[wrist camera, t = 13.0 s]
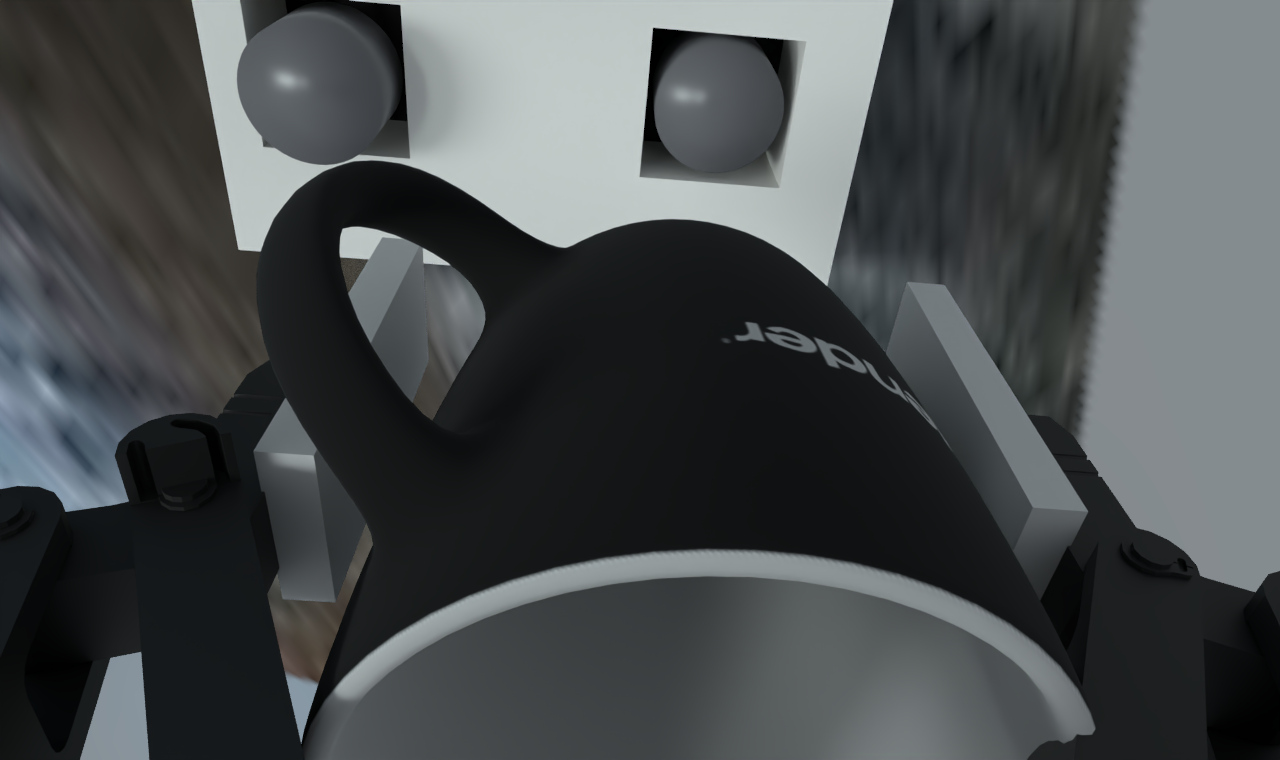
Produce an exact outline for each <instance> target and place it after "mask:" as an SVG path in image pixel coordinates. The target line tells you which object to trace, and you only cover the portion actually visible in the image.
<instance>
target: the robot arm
mask: <svg viewBox="0 0 1280 760" xmlns="http://www.w3.org/2000/svg"><path fill="white" fill-rule="evenodd" d="M348 294H349V297H350V299H351V302H352V305H353V307H354V310H355V312H356V315H357V318H358V320H359V322H360V324H361V326H362V328H363V330H364V332H365V334H366V335H367V337H368V339H369V341H370V343H371V345H372V347H373V348H374V350H375V352H376V353H377V355H378V356H379V358H380V360H381V361H382V363H383V364H384V366H385V368H386V369H387V371H388V372H389V373H390V375H391V376H392V378H393V379H394V380H395V382H396V383H397V384H398V386H399V387H400V388H401V390H402V391H403V393H404V394H405V395H406V396H407V397H408V398H409V399H410V401H411V402H413V400H414V397H415V395H416V392H417V389H418V387H419V384H420V382H421V379H422V376H423V374H424V371H425V369H426V366H427V363H428V361H429V359H428V340H427V320H426V301H425V281H424V262H423V248H422V247H420V246H418V245H416V244H414V243H412V242H410V241H407V240H405V239H398V238H386V237H382V239H381V240H380V242H379V244H378V245H377V247H376V249H375V250H374V252H373V254H372V255H371V257H370V259H369V260H368V262H367V264H366V265H365V267H364V269H363V270H362V272H361V274H360V275H359V277H358V279H357V280H356V282H355V283H354V285H353V287H352V288H351V290H350V292H349V293H348ZM886 355H887V356H888V358H889V359H890V360H891V362H892V363H893V365H894V366H895V367H896V369H897V370H898V371H899V373H900V374H901V376H902V377H903V378H904V380H905V381H906V383H907V384H908V385H909V387H910V388H911V390H912V391H913V392H914V394H915V395H916V397H917V398H918V400H919V401H920V403H921V404H922V405H923V407H924V408H925V410H926V411H927V413H928V414H929V416H930V417H931V419H932V420H933V422H934V423H935V425H936V426H937V428H938V429H939V431H940V432H941V434H942V435H943V437H944V438H945V440H946V441H947V443H948V444H949V446H950V448H951V449H952V451H953V452H954V454H955V455H956V457H957V459H958V460H959V462H960V463H961V465H962V466H963V468H964V470H965V471H966V473H967V474H968V476H969V478H970V479H971V481H972V483H973V484H974V486H975V487H976V489H977V491H978V492H979V494H980V496H981V497H982V499H983V501H984V502H985V504H986V506H987V507H988V509H989V511H990V512H991V514H992V516H993V518H994V519H995V521H996V523H997V524H998V526H999V528H1000V530H1001V531H1002V533H1003V535H1004V537H1005V538H1006V540H1007V542H1008V543H1009V545H1010V547H1011V549H1012V551H1013V552H1014V554H1015V556H1016V558H1017V560H1018V561H1019V563H1020V565H1021V567H1022V568H1023V570H1024V572H1025V574H1026V576H1027V577H1028V579H1029V581H1030V583H1031V585H1032V587H1033V589H1034V590H1035V592H1036V594H1037V596H1038V598H1039V600H1040V602H1041V604H1042V605H1043V607H1044V609H1045V611H1046V613H1047V615H1048V617H1049V619H1050V621H1051V622H1052V624H1053V626H1054V628H1055V630H1056V632H1057V634H1058V636H1059V638H1060V640H1061V642H1062V644H1063V646H1064V648H1065V650H1066V652H1067V654H1068V657H1069V659H1070V661H1071V663H1072V665H1073V667H1074V670H1075V672H1076V674H1077V676H1078V678H1079V681H1080V683H1081V685H1082V688H1083V690H1084V692H1085V694H1086V697H1087V700H1088V703H1089V706H1090V709H1091V713H1092V716H1093V720H1094V723H1095V727H1096V729H1095V730H1094V732H1093V734H1092V735H1079V734H1077V735H1076V736H1075V737H1074V739H1073V740H1071V741H1068V742H1066V743H1062V742H1060V741H1059V740H1055V741H1047V742H1045V743H1043V744H1041V745H1039V746H1038V747H1037V749H1036V750H1035V751H1034V752H1033V753H1032V754H1031V755H1030V756H1029V757H1028V759H1027V760H1280V571H1279V572H1275V573H1272V574H1268V576H1267V577H1266V578H1265V580H1264V581H1263V583H1262V584H1261V586H1260V587H1259V588H1258V590H1257V591H1256V593H1255V592H1252V591H1248V590H1245V589H1242V588H1238V587H1234V586H1231V585H1228V584H1224V583H1221V582H1217V581H1214V580H1211V579H1207V578H1204V577H1202V576H1200V574H1199V571H1198V568H1197V566H1196V564H1195V563H1194V562H1193V561H1192V560H1191V558H1190V557H1189V556H1188V555H1187V554H1186V553H1185V552H1184V551H1183V550H1181V549H1180V548H1179V547H1177V546H1176V545H1174V544H1173V543H1172V542H1170V541H1169V540H1167V539H1164V538H1163V537H1160V536H1158V535H1156V534H1154V533H1152V532H1149V531H1145V530H1141V529H1138V528H1136V527H1135V525H1134V524H1133V522H1132V521H1131V519H1130V518H1129V517H1128V515H1127V514H1126V512H1125V511H1124V509H1123V508H1122V506H1121V505H1120V503H1119V502H1118V500H1117V499H1116V498H1115V496H1114V495H1113V493H1112V492H1111V490H1110V489H1109V487H1108V486H1107V485H1106V483H1105V481H1104V480H1103V479H1102V477H1098V471H1097V470H1096V468H1095V467H1094V466H1093V464H1092V463H1091V461H1090V460H1087V455H1086V454H1085V452H1084V451H1083V449H1082V448H1081V447H1080V445H1079V444H1078V442H1077V441H1076V439H1075V438H1074V436H1073V435H1072V434H1070V433H1069V432H1068V431H1067V430H1065V429H1064V428H1063V427H1062V426H1060V425H1059V424H1058V423H1056V422H1055V421H1054V420H1053V419H1051V418H1050V417H1049V416H1036V415H1027V414H1026V413H1025V411H1024V409H1023V408H1022V406H1021V405H1020V403H1019V402H1018V400H1017V398H1016V397H1015V395H1014V394H1013V392H1012V390H1011V389H1010V387H1009V386H1008V384H1007V383H1006V381H1005V379H1004V378H1003V376H1002V375H1001V373H1000V372H999V370H998V368H997V367H996V365H995V364H994V362H993V361H992V359H991V357H990V356H989V354H988V353H987V351H986V349H985V348H984V346H983V345H982V343H981V342H980V340H979V338H978V337H977V335H976V334H975V332H974V331H973V329H972V327H971V326H970V324H969V323H968V321H967V320H966V318H965V316H964V315H963V313H962V312H961V310H960V308H959V307H958V305H957V304H956V302H955V301H954V299H953V297H952V296H951V294H950V293H949V291H948V290H947V288H946V286H945V285H939V284H927V283H915V282H907V283H906V287H905V290H904V294H903V297H902V300H901V304H900V307H899V310H898V314H897V317H896V321H895V324H894V327H893V331H892V334H891V338H890V341H889V344H888V348H887V351H886ZM115 458H116V461H117V464H118V467H119V471H120V474H121V477H122V480H123V483H124V487H125V490H126V493H127V496H128V499H129V502H126V503H121V504H116V505H111V506H105V507H98V508H91V509H84V510H77V511H70V512H65V510H64V507H63V504H62V502H61V501H60V500H59V498H58V497H57V496H56V494H55V493H54V492H51V491H49V490H46V489H43V488H40V487H29V486H16V487H10V488H5V489H0V760H80V757H81V754H82V750H83V747H84V744H85V740H86V737H87V734H88V730H89V727H90V724H91V720H92V717H93V714H94V710H95V707H96V704H97V700H98V697H99V694H100V690H101V687H102V684H103V680H104V677H105V674H106V670H107V667H108V664H109V660H110V658H111V657H117V656H121V655H127V654H132V653H137V652H141V653H142V667H143V680H144V693H145V707H146V720H147V734H148V747H149V760H305V759H304V755H303V750H302V746H301V742H300V737H299V733H298V729H297V724H296V719H295V715H294V711H293V706H292V702H291V698H290V693H289V689H288V685H287V680H286V676H285V671H284V667H283V662H282V658H281V654H280V649H279V645H278V640H277V636H276V632H275V627H274V623H273V619H272V614H271V610H270V605H269V601H268V597H267V593H268V591H269V589H270V587H271V585H272V583H273V581H274V579H275V576H276V574H277V573H278V578H279V583H280V589H281V594H282V599H291V600H307V601H323V602H336V600H337V597H338V595H339V592H340V590H341V587H342V584H343V582H344V579H345V577H346V574H347V571H348V569H349V566H350V564H351V561H352V558H353V556H354V553H355V551H356V548H357V545H358V543H359V540H360V538H361V535H362V532H363V530H364V527H365V525H366V521H365V519H364V518H363V516H362V514H361V513H360V511H359V510H358V508H357V506H356V505H355V503H354V502H353V500H352V499H351V497H350V496H349V495H348V493H347V492H346V490H345V489H344V487H343V486H342V485H341V483H340V482H339V480H338V479H337V477H336V476H335V474H334V473H333V472H332V470H331V469H330V467H329V466H328V464H327V463H326V462H325V460H324V459H323V457H322V456H321V454H320V453H319V451H318V450H317V448H316V447H315V445H314V444H313V442H312V441H311V439H310V438H309V436H308V434H307V433H306V431H305V430H304V428H303V427H302V425H301V423H300V422H299V420H298V418H297V416H296V415H295V413H294V411H293V409H292V408H291V406H290V404H289V403H288V401H287V399H286V397H285V395H284V393H283V390H282V388H281V386H280V384H279V382H278V380H277V377H276V375H275V373H274V371H273V368H272V365H271V362H270V360H269V361H267V362H266V363H264V364H263V365H261V366H260V367H258V368H256V369H255V370H253V371H252V372H250V373H249V374H247V376H246V377H245V379H244V380H243V382H242V383H241V385H240V386H239V387H238V389H237V390H236V392H235V393H234V398H231V399H230V400H229V402H228V403H227V405H226V406H225V408H224V409H223V414H220V415H219V416H218V418H217V419H216V418H214V417H212V416H210V415H203V414H195V413H186V414H175V415H168V416H165V417H161V418H158V419H154V420H151V421H148V422H146V423H144V424H143V425H141V426H139V427H137V428H135V429H133V430H131V431H130V432H129V433H128V434H127V435H126V436H125V437H124V438H123V439H122V440H121V441H120V442H119V444H118V447H117V450H116V453H115Z"/></svg>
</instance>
